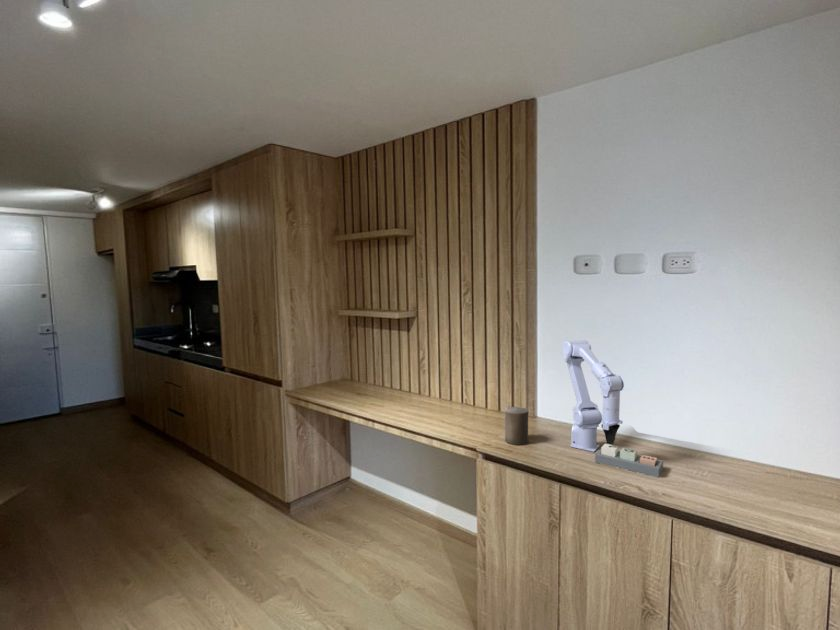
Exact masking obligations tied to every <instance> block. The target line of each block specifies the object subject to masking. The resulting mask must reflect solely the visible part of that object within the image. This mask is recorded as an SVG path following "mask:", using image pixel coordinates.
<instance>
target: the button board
mask: <svg viewBox="0 0 840 630" xmlns="http://www.w3.org/2000/svg"><path fill="white" fill-rule="evenodd" d="M601 449H602V447H601V448H600V449H599V450H598V451H597V453H596V454H595V455H594V457H595V458H594V460H595V461H594V463H596V464H601V465H605V466H608V467H613V468H616V467H618V468H617V469H621V468H623V469H622V470H625V469H627V470H626V471H629V470H631V471H630V472H633V471H635V472H634V473H637V472H639V473H638V474H641V473H643V475H646V476H650V477H653V478H659V477H660V476H661V473H662V471H663V469H664V460H663V459H662V460H661V459H658V458H657V465H656V466H652V465H647V464H643V463H640V458H641V456H642V455H641V454H640V455H638V454H637V460H636V461H635V462H634V461H629V460H625V459H621V458H620V451H621V450H618V455H617V456H616V457H612V456H607V455H603V454H601Z"/></svg>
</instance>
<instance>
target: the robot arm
mask: <svg viewBox="0 0 840 630" xmlns="http://www.w3.org/2000/svg"><path fill="white" fill-rule="evenodd" d="M561 351H562V355H563V358H564V359H563V360H564V361H565V363H566V365H567V369H568V372H569V373H568V374H569V376H570V380H571V383H572V388H573V391H574V395H575V400H576V402H577V403H576V404H575V405H574V407H573V408H572V413H573V415H572V416H573V421H574V423H573V424H572V426H571V434H570V435H571V436H570V438H571V439H570V448H575V449H579V450H584V451H587V452H596V451H597V450H598V449H599V447H600V444H597V441H598V440H597V435H598V434H597V433H598V431H597V430H598V427H600V426H599V425H600V424H601V423H602V424H601V429H602V431H603V433H604V437H605V441H606V444H610V445H614V443H615V439H616V437H617V436H616V435H617V433H618V430H619V428H620V427H621V425H622V424H623V420H620V404H621V403H620V402H621V401H620V400H621V391H623V390H624V387H625V382H624V379H623V378H622V377H621V376H620V375H618V374H616V373H615V374H614V373H613V372H612V371H611V370H610V368H609V367H608V366H607V364H606V363H605V362H600V361H599V360H598V358H597V357H596V356H595V354H594V352H593V351H592V346H591V344H590V343H589V341H588V340H586V339H584V340H572V341H570V340H565V341H564V342H563V345H562V348H561ZM584 361H585V362H586V363H587V364H588V365H589V366H590V368H591V373H592V374H593V375H594V377H595V378H596V379H597V380H598V382H599V387H600V390H601V396H602V413H601V411H600V410H599V406H598V405H597V403H594V402H593V401H592V400H591V398H590V394H589V391H588V390H589V389H588V386H587V382H586V380H585V375H584V372H583V369H582V363H583V362H584Z"/></svg>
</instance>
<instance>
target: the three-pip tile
mask: <svg viewBox="0 0 840 630" xmlns="http://www.w3.org/2000/svg"><path fill="white" fill-rule="evenodd" d="M640 456H641V458H640V463H643V464H647V465H652V466H656V465H657V459H658V458H657V457H655V456H649V455H644V454H642V455H640Z"/></svg>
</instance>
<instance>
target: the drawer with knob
mask: <svg viewBox="0 0 840 630" xmlns="http://www.w3.org/2000/svg"><path fill="white" fill-rule="evenodd" d="M601 448H602V449H601ZM601 448H600V449H601V454H603V455H607V456H612V457H616V456H617V455H618V451H619V445H614V444H613V445H612V444H607V443H604V444H603V445H602V446H601Z"/></svg>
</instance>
